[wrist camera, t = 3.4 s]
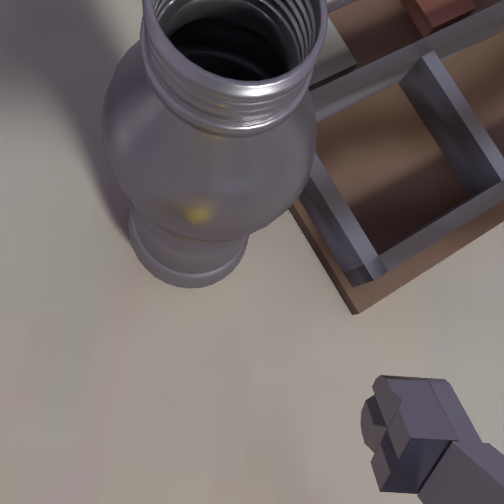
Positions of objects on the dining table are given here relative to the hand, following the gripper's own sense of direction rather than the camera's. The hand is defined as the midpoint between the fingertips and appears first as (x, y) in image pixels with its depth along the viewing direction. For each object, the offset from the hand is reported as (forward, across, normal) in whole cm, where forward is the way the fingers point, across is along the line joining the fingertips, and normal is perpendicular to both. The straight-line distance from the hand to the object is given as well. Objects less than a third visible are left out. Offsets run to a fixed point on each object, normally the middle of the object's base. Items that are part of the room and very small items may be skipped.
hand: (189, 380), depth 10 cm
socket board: (+25, -15, 0) cm, 29 cm away
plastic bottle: (+18, 0, +7) cm, 19 cm away
